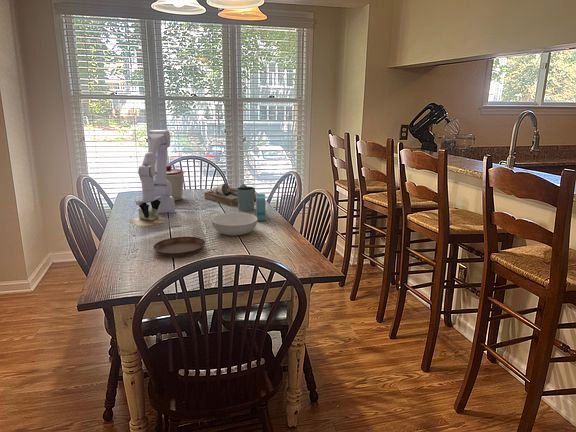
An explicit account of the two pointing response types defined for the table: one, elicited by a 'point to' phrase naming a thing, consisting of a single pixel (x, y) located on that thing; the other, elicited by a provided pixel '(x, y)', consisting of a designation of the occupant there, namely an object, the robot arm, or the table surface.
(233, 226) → the serving bowl
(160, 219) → the board
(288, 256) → the table surface
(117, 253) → the table surface
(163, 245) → the plant saucer
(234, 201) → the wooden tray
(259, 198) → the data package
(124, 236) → the table surface
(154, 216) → the block
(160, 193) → the robot arm
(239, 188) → the green lidded jar
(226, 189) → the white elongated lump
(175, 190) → the canister
